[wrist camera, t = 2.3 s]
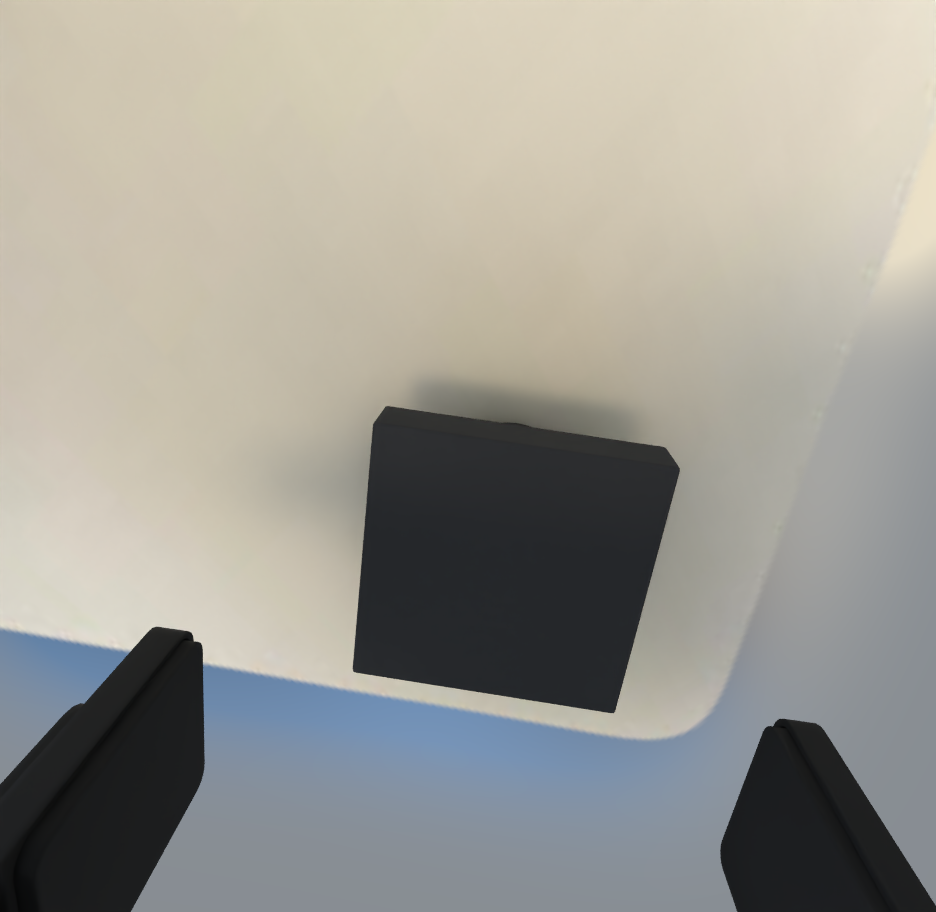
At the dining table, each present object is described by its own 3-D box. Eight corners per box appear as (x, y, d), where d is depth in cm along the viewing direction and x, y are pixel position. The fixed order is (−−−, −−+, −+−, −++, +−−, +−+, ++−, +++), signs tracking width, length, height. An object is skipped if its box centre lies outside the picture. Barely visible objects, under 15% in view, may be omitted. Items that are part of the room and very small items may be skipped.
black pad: (634, 400, 20) (681, 468, 14) (590, 591, 22) (615, 715, 16) (413, 367, 20) (372, 421, 14) (393, 560, 22) (351, 673, 17)
